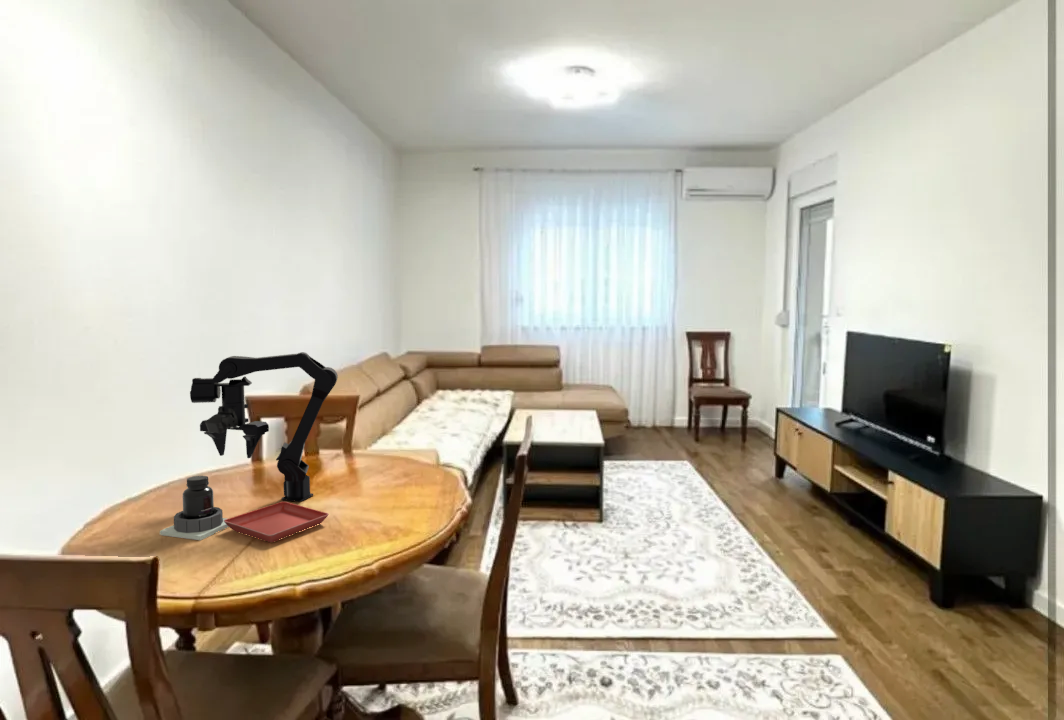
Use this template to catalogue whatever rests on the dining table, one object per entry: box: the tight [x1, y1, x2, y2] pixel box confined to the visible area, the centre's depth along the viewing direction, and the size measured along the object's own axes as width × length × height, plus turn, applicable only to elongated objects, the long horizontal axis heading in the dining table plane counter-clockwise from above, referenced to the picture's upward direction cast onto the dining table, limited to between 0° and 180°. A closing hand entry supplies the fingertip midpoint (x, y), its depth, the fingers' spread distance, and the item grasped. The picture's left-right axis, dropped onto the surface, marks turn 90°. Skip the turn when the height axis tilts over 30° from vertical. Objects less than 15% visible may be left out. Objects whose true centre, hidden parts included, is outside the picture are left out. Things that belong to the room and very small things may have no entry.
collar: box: [173, 506, 224, 533], centre depth 161 cm, size 10×10×3 cm
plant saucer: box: [224, 501, 329, 543], centre depth 163 cm, size 18×18×3 cm
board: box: [159, 517, 230, 541], centre depth 162 cm, size 12×12×1 cm
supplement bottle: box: [182, 475, 215, 520], centre depth 161 cm, size 7×7×12 cm
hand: (235, 456), depth 182 cm, fingers open, 9 cm apart
